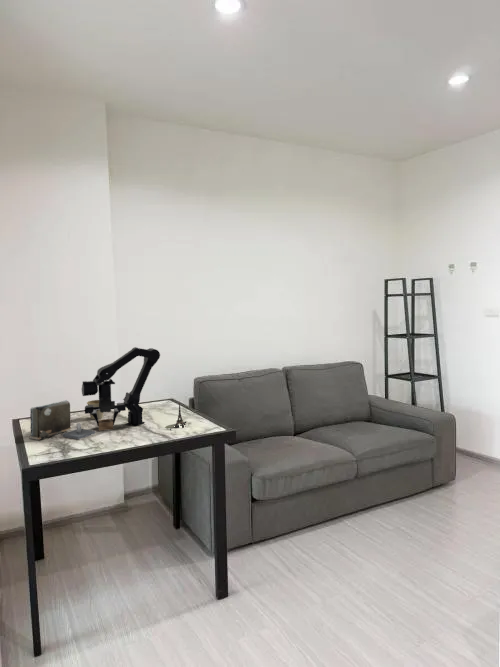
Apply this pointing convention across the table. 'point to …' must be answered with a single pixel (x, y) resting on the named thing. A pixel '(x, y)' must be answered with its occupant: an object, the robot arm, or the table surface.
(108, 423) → the collar
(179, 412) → the eiffel tower figurine
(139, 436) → the table surface
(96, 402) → the flower pot
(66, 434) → the hub
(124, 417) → the table surface
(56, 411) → the radio
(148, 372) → the robot arm
